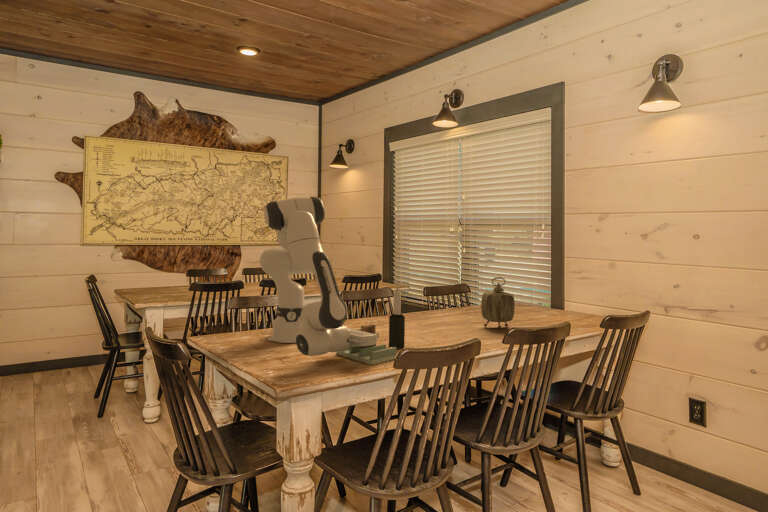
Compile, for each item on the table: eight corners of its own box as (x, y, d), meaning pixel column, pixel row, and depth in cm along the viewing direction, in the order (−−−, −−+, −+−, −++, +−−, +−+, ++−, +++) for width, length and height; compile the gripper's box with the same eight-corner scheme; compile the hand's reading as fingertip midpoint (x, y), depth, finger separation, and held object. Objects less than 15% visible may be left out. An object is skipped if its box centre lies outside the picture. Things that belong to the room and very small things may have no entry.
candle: (396, 345, 198) (397, 284, 197) (405, 347, 194) (406, 285, 193) (387, 347, 194) (388, 285, 193) (396, 349, 191) (397, 286, 190)
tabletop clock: (508, 326, 243) (509, 276, 242) (515, 329, 234) (516, 278, 233) (480, 326, 241) (481, 276, 240) (486, 330, 232) (487, 278, 231)
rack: (371, 365, 167) (371, 353, 167) (336, 354, 182) (336, 343, 182) (400, 358, 177) (400, 347, 177) (364, 348, 192) (364, 338, 191)
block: (364, 353, 177) (365, 326, 176) (360, 352, 179) (360, 325, 178) (375, 351, 180) (375, 325, 180) (370, 350, 182) (371, 324, 182)
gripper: (358, 334, 162) (388, 329, 172) (322, 325, 177) (352, 321, 187) (358, 352, 163) (388, 346, 172) (322, 342, 178) (352, 337, 187)
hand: (369, 333), depth 179 cm, fingers open, 8 cm apart
